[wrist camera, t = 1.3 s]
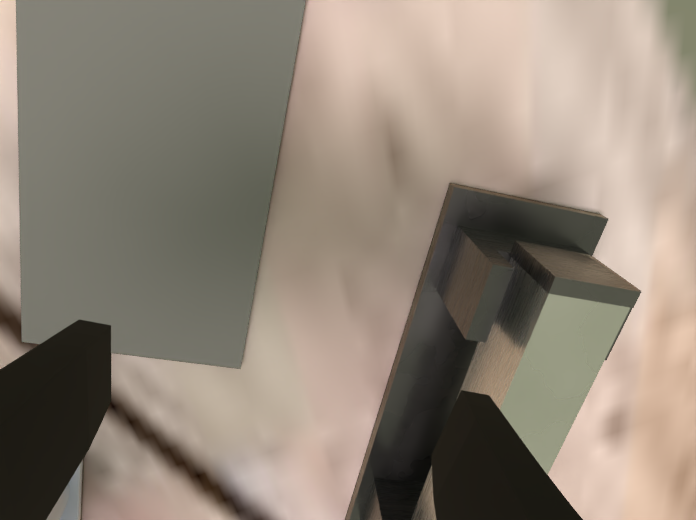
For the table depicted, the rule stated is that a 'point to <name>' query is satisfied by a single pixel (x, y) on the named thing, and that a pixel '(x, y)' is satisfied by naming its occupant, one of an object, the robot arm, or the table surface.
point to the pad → (149, 167)
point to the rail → (545, 347)
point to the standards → (453, 333)
